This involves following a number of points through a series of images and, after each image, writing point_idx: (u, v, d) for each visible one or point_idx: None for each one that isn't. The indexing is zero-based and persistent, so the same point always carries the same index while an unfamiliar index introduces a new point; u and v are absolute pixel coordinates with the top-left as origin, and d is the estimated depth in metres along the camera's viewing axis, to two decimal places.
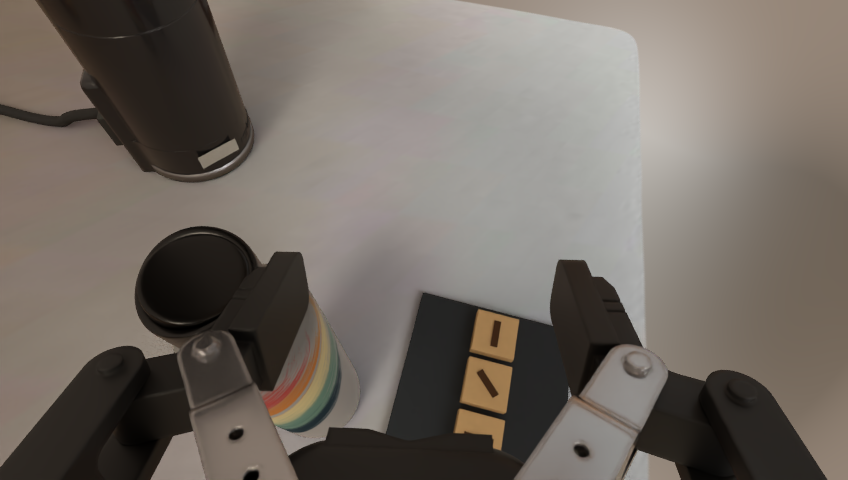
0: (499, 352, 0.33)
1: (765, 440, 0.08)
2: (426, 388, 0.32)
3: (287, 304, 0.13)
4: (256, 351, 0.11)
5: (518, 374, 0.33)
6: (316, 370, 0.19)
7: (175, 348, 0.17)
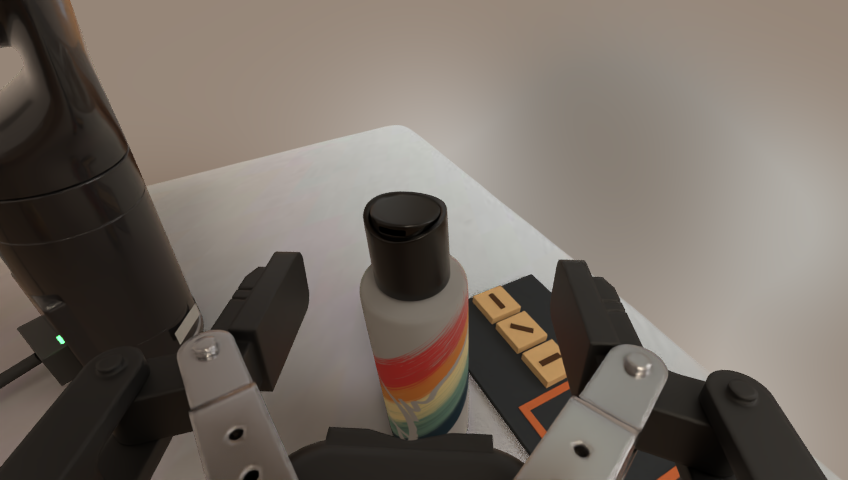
0: (509, 308, 0.41)
1: (765, 440, 0.08)
2: (491, 362, 0.37)
3: (287, 304, 0.13)
4: (256, 351, 0.11)
5: (530, 315, 0.42)
6: None
7: (387, 317, 0.21)
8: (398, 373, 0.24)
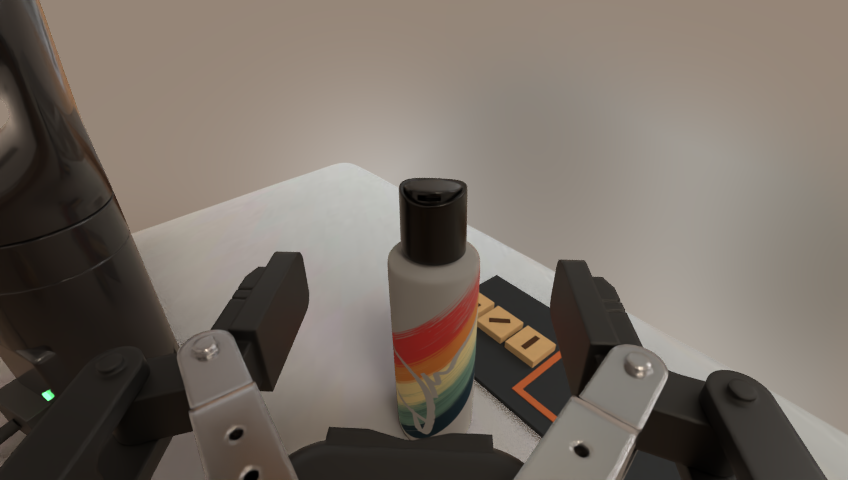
0: (485, 305, 0.44)
1: (765, 440, 0.08)
2: (478, 354, 0.40)
3: (287, 304, 0.13)
4: (256, 351, 0.11)
5: (503, 309, 0.45)
6: None
7: (421, 280, 0.25)
8: (425, 341, 0.27)
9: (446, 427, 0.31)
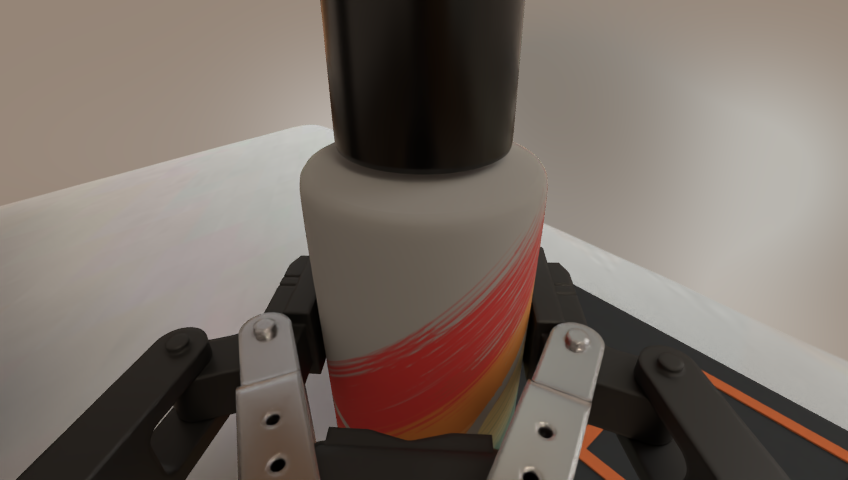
0: None
1: (697, 406, 0.09)
2: None
3: None
4: (308, 334, 0.12)
5: None
6: None
7: (383, 215, 0.08)
8: (398, 390, 0.10)
9: None
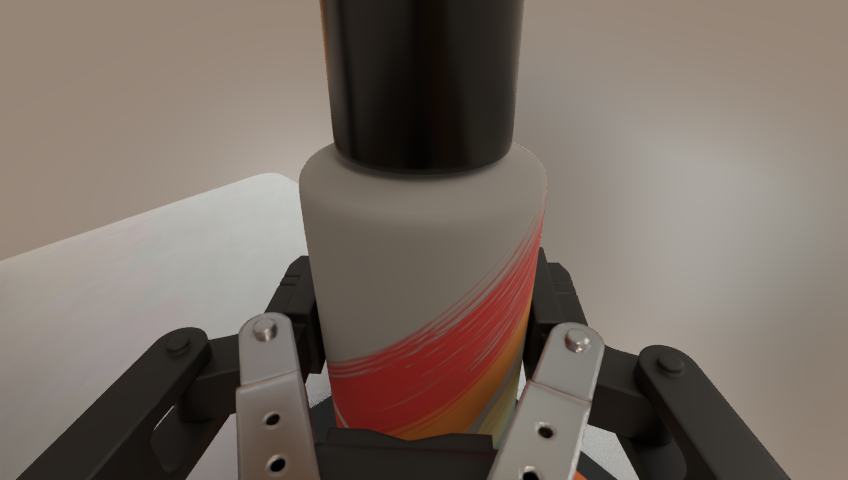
0: None
1: (697, 406, 0.09)
2: None
3: None
4: (308, 334, 0.12)
5: None
6: None
7: (383, 215, 0.08)
8: (397, 390, 0.10)
9: None
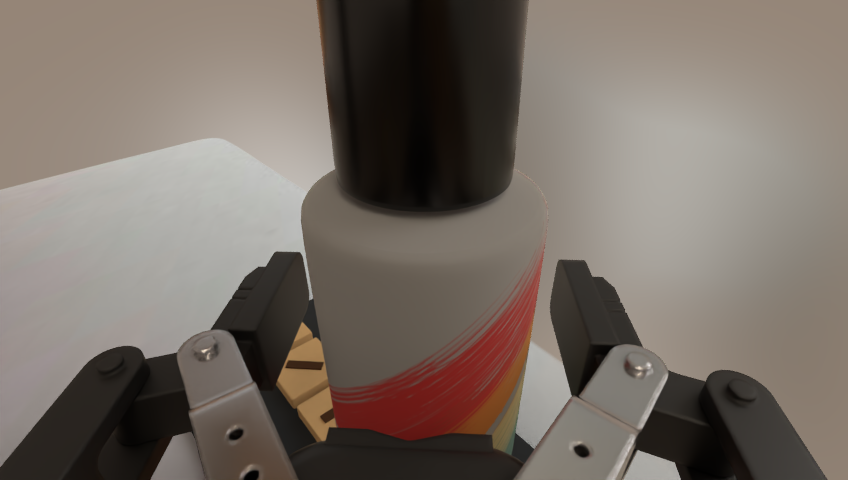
0: None
1: (765, 440, 0.08)
2: None
3: (287, 304, 0.13)
4: (256, 351, 0.11)
5: None
6: None
7: (384, 254, 0.08)
8: (399, 419, 0.10)
9: None
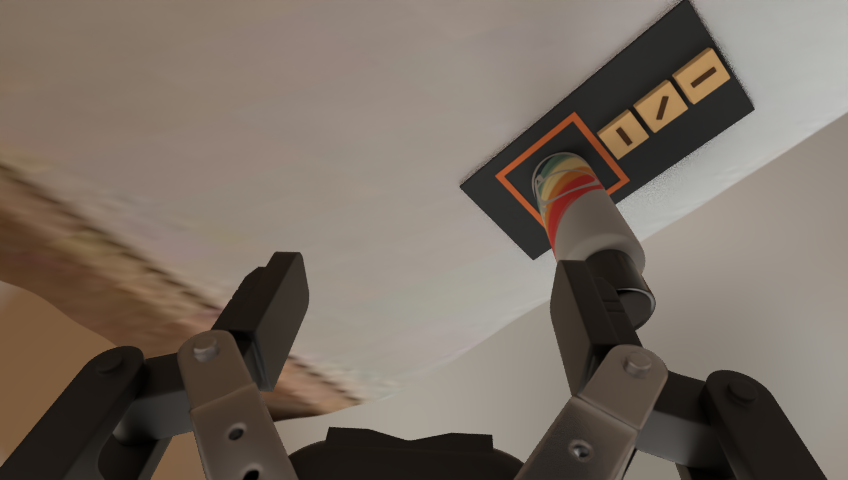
0: (691, 92, 0.38)
1: (765, 440, 0.08)
2: (620, 81, 0.39)
3: (287, 304, 0.13)
4: (256, 351, 0.11)
5: (686, 113, 0.40)
6: None
7: None
8: (552, 229, 0.35)
9: (535, 197, 0.42)
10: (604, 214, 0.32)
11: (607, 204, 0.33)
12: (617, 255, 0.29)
